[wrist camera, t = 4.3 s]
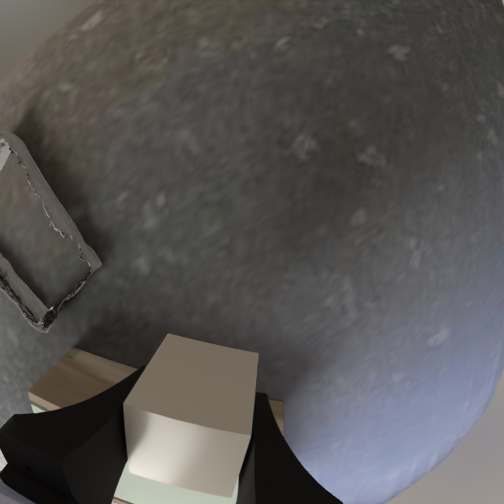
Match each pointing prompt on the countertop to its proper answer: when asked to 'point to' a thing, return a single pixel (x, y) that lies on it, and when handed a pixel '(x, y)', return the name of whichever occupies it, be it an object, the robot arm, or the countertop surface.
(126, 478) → the trapdoor
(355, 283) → the countertop surface
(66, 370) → the trapdoor frame
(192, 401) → the beige cube
